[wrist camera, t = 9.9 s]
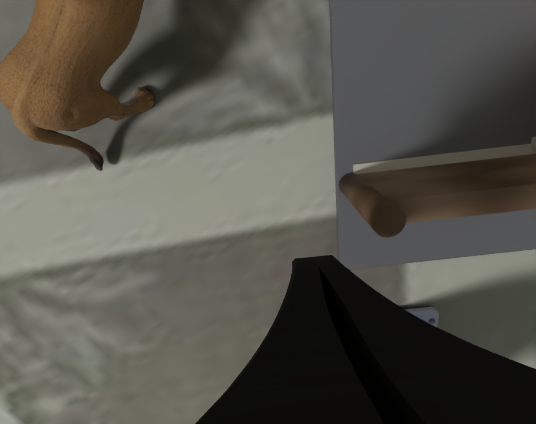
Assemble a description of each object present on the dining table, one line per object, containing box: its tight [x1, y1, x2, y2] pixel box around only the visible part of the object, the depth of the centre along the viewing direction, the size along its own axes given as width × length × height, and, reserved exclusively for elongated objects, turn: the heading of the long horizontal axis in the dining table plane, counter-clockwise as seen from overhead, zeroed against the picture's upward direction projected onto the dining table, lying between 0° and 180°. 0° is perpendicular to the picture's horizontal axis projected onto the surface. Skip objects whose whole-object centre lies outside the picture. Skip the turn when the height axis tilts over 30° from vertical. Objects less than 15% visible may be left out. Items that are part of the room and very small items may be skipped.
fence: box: [339, 154, 536, 238], centre depth 15 cm, size 14×2×6 cm, turn 97°
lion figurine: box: [0, 0, 154, 171], centre depth 12 cm, size 15×5×9 cm, turn 159°
